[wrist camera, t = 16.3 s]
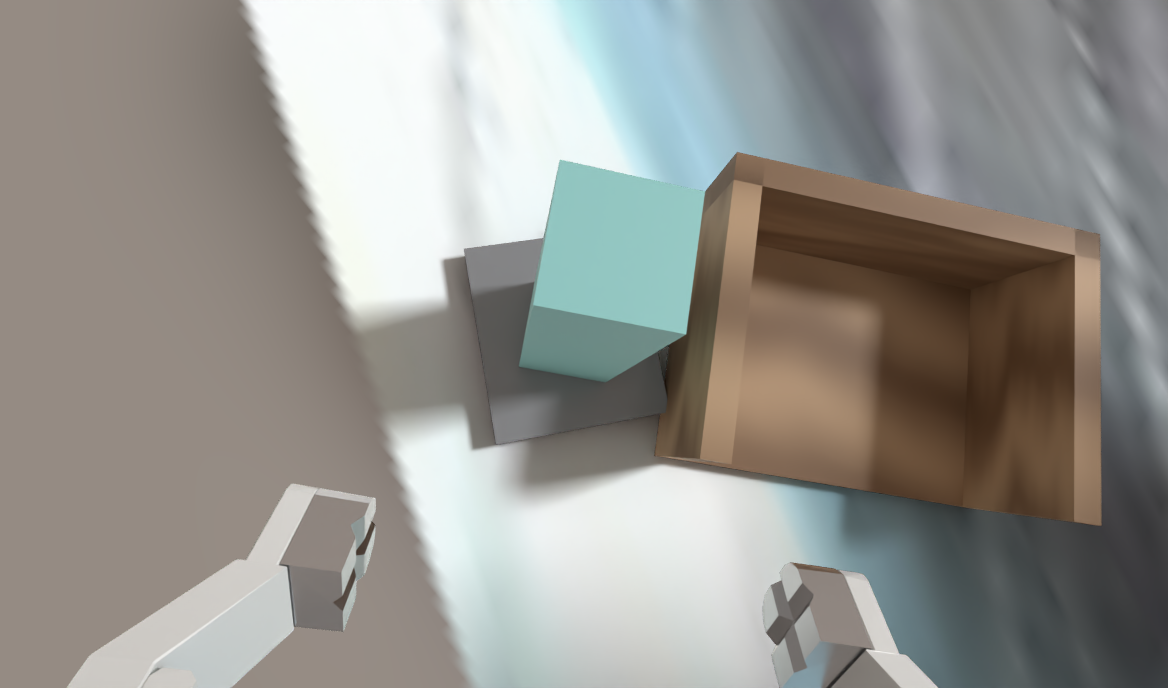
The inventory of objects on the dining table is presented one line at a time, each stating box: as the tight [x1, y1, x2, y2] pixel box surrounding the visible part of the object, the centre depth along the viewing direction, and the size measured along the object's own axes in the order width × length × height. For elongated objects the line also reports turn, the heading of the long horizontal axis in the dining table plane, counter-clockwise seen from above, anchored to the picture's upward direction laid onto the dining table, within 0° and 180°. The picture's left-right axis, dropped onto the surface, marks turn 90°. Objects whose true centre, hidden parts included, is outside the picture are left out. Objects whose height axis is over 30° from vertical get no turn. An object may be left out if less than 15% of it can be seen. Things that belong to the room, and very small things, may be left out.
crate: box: [654, 152, 1101, 526], centre depth 27 cm, size 12×16×6 cm
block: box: [519, 160, 705, 382], centre depth 21 cm, size 4×4×12 cm
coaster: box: [464, 238, 668, 445], centre depth 28 cm, size 8×9×1 cm
